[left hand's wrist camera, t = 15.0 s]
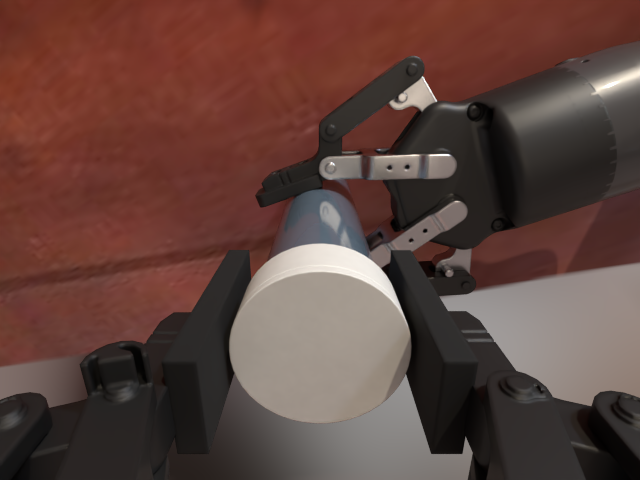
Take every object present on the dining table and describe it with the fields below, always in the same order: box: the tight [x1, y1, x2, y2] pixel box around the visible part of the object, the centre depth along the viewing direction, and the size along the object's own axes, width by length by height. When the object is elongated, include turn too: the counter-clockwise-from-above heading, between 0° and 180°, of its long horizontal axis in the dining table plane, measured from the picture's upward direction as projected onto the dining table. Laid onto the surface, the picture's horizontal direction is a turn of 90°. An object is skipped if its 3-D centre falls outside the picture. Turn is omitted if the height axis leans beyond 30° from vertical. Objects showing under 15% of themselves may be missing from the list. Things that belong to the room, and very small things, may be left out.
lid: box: [229, 244, 412, 423], centre depth 11 cm, size 5×5×2 cm
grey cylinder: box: [267, 179, 373, 262], centre depth 20 cm, size 4×4×18 cm
